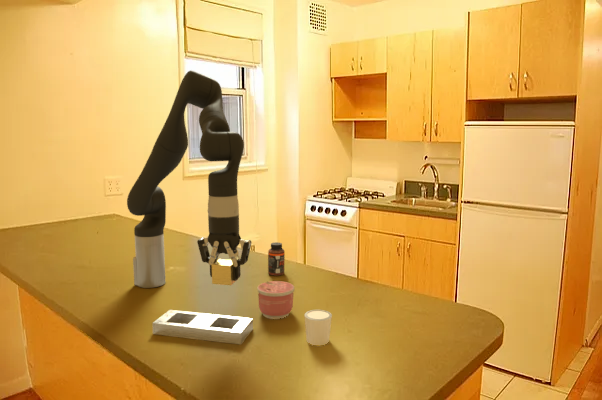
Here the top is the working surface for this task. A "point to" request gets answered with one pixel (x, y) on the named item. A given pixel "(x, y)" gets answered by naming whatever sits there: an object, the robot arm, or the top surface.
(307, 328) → the white cup
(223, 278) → the wooden toy cube
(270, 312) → the container
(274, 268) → the supplement bottle
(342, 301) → the top surface
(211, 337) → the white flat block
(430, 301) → the top surface
